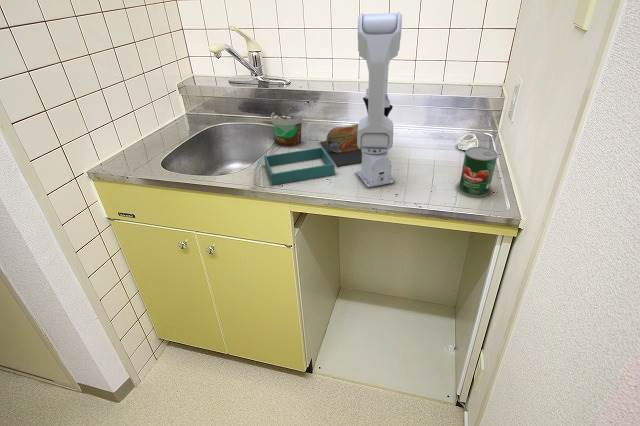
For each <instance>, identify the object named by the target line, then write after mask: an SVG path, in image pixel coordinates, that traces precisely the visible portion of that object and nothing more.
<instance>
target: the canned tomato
mask: <svg viewBox="0 0 640 426" xmlns="http://www.w3.org/2000/svg"><path fill="white" fill-rule="evenodd" d="M498 156H499V154H498V152H497V151H496V150H494V149H492V148H489V147H485V146H479V147H471V148H468V149H467V150H465V153H464V159H463V163H462V168H461V174H460V179H459V183H458V184H459V185H458V190H459V192H461V193H462V194H463V195H466V196H469V197H473V198H477V197H478V198H480V197H485V196H487V195H489V193H490V188H491V185H492V181H493V177H494V172H495V169H496V164H497V159H498Z"/></svg>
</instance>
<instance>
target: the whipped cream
mask: <svg viewBox="0 0 640 426" xmlns="http://www.w3.org/2000/svg"><path fill="white" fill-rule="evenodd" d="M457 143H458V145H457V148H458V149H459V150H461V151H466V150H467V149H468V148H471V147H480V145H479V140H478V138H477V136H476V135H475V134H474V133H468V134H465V135H462V136H461V137H460V139H459V140H458V142H457Z"/></svg>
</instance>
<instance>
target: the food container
mask: <svg viewBox="0 0 640 426" xmlns="http://www.w3.org/2000/svg"><path fill="white" fill-rule="evenodd" d="M303 122H304V119H303V117H302V115H300V116H298V117H295V116H291V115H287V114H283V115H282V114H281V115H280V114H276V113H275V111H274V112H273V111H272V113H271V114H270V123H271V124H272V125H273V131H274V135H275V139H276V143H277V144H278V145H279V146H282V147H293V146H296V145H299V144H301V143H302V123H303Z"/></svg>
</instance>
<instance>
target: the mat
mask: <svg viewBox="0 0 640 426" xmlns="http://www.w3.org/2000/svg"><path fill="white" fill-rule="evenodd" d="M320 144H321V147H323V149H324V150H325V152H326V153H327V155H328V156H329V157H330V159H331V160H332V162H333V163H334V165H335V166H336V167H337V168H340V167H344V166H345V167H346V166H351V165H356V164H357V165H358V164H362V152H361V149H360V150H354V151H348V152H342V153H335V152H333V151H332V150H331V149H330V148H329V147H328V145H327V141H326V140H325V141H320Z"/></svg>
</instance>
